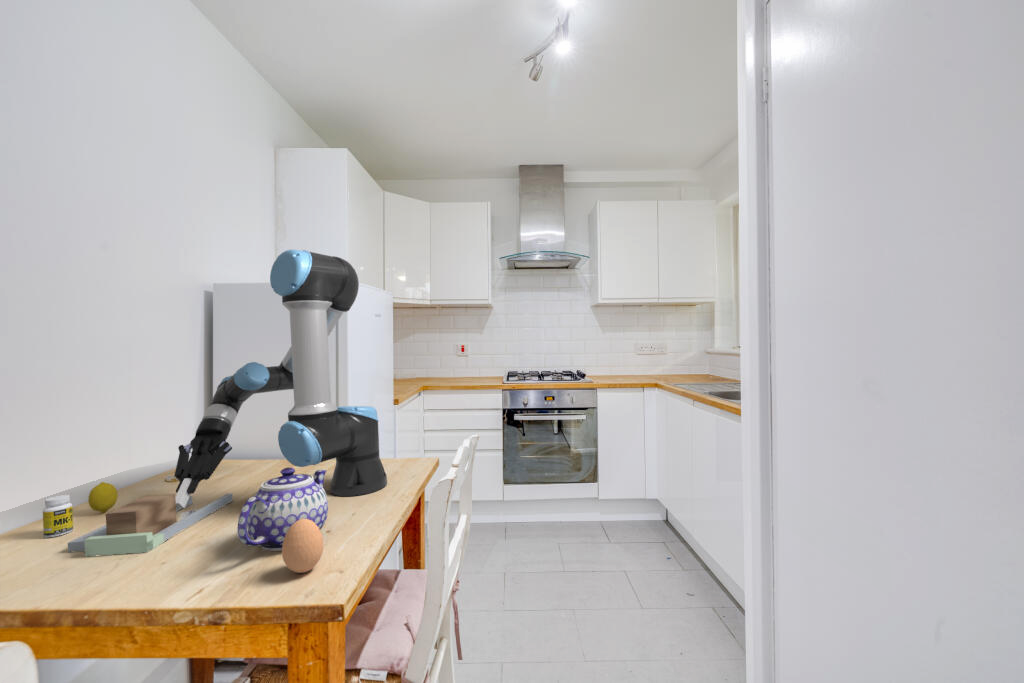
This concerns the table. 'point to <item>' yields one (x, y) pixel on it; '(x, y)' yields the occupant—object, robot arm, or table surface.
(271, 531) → the teapot
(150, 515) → the walnut block
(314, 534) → the egg
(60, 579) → the table surface
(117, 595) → the table surface
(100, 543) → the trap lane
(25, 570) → the table surface
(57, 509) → the supplement bottle
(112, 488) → the lemon
